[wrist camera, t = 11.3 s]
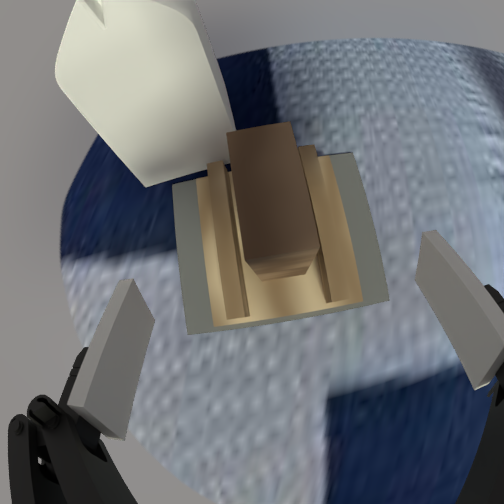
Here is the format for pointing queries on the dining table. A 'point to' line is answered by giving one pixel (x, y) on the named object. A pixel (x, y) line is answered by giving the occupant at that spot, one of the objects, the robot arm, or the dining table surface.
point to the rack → (285, 289)
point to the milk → (147, 84)
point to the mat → (202, 320)
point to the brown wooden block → (272, 201)
